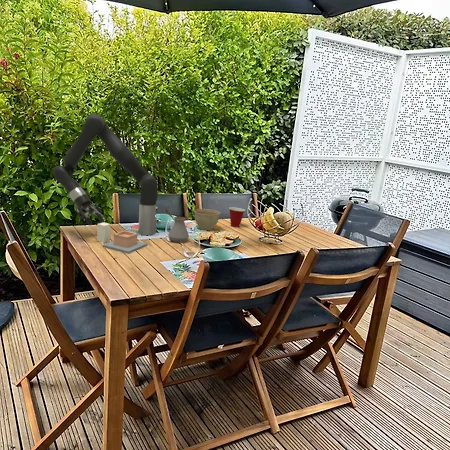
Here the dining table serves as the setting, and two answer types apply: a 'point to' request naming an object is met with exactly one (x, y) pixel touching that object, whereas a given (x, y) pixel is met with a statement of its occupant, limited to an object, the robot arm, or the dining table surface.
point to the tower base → (126, 250)
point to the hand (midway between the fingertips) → (96, 222)
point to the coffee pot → (178, 229)
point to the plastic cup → (236, 216)
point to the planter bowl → (206, 218)
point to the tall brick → (103, 232)
